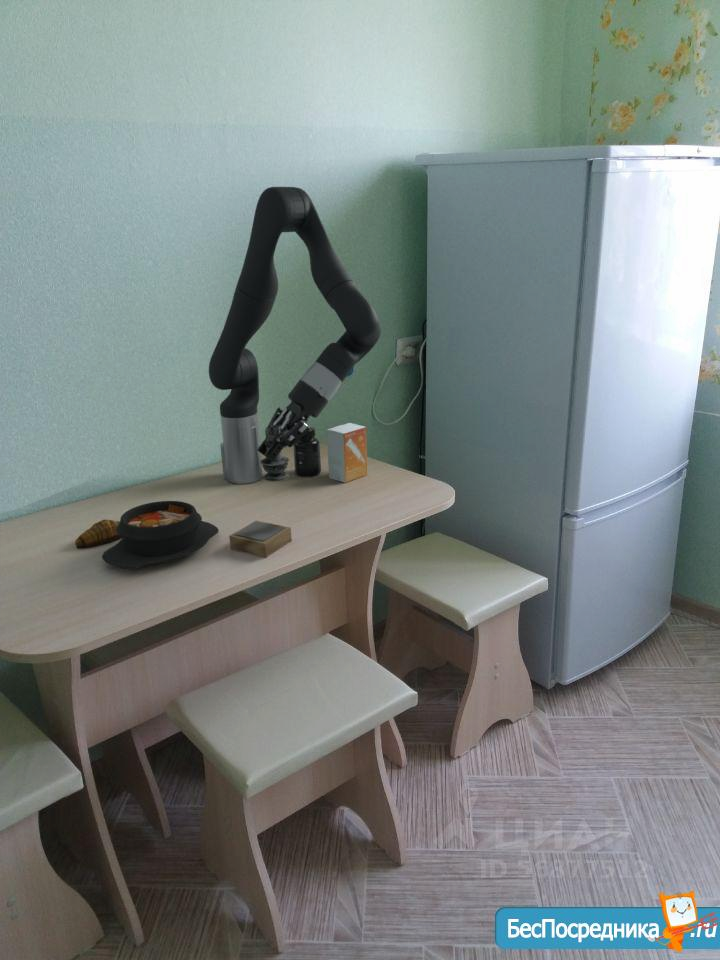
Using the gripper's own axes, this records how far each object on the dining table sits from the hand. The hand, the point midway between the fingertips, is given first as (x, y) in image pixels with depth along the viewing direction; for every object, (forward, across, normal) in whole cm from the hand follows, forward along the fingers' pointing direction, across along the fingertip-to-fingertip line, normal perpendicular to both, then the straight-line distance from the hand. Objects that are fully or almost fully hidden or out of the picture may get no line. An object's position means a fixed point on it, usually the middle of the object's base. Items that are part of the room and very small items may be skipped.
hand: (264, 455), depth 162 cm
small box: (-8, -25, +34) cm, 43 cm away
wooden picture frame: (+15, +4, +10) cm, 19 cm away
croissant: (+35, -17, -9) cm, 40 cm away
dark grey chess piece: (+2, 0, +5) cm, 6 cm away
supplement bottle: (-3, -33, +29) cm, 44 cm away
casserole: (+28, -4, -3) cm, 29 cm away
